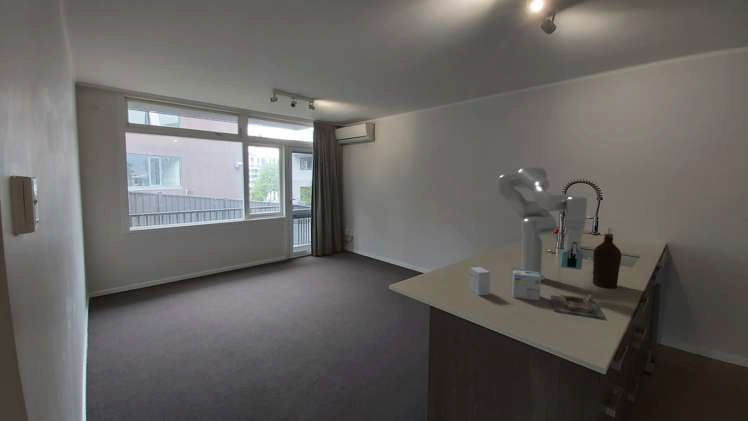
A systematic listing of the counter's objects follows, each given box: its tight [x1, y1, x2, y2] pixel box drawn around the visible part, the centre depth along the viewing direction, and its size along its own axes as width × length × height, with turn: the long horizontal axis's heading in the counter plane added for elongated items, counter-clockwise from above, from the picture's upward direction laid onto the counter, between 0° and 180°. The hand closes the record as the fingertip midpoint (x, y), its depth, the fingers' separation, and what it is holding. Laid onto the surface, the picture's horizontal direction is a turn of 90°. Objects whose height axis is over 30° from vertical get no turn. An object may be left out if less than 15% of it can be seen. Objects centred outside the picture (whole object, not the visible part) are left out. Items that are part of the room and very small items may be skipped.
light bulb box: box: [511, 270, 542, 301], centre depth 136 cm, size 11×7×11 cm, turn 71°
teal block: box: [559, 249, 584, 271], centre depth 138 cm, size 8×4×7 cm, turn 65°
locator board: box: [550, 293, 605, 320], centre depth 125 cm, size 16×16×4 cm
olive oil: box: [592, 233, 622, 290], centre depth 149 cm, size 11×11×25 cm
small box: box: [468, 266, 491, 297], centre depth 141 cm, size 8×6×10 cm
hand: (570, 264), depth 138 cm, fingers closed on teal block, 4 cm apart
